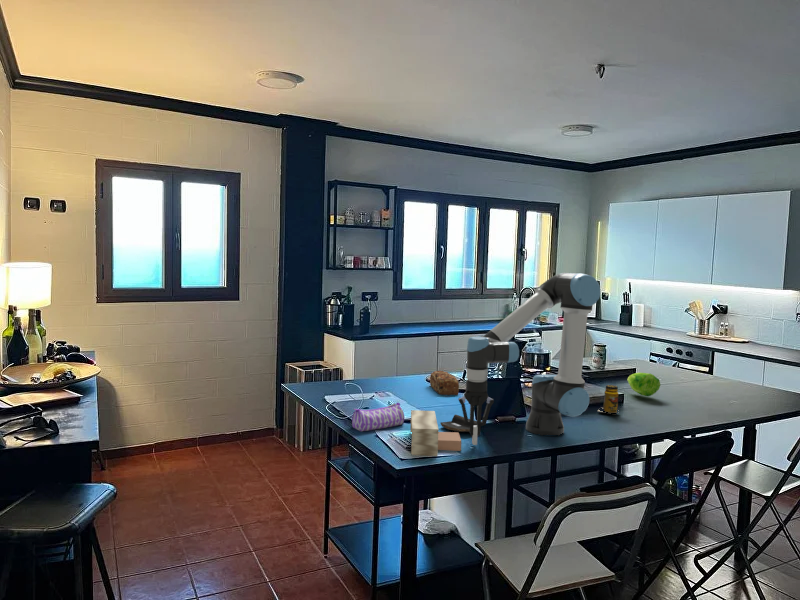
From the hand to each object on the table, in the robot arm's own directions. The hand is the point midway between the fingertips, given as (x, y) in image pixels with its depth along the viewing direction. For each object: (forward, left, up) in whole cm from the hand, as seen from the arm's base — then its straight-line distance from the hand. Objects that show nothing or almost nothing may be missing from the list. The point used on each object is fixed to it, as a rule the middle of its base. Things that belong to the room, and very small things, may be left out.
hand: (474, 443), depth 217 cm
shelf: (+20, 0, -1) cm, 20 cm away
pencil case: (+36, -18, -1) cm, 40 cm away
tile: (+12, 0, -2) cm, 13 cm away
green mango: (-99, -96, -1) cm, 138 cm away
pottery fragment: (+5, -18, -2) cm, 18 cm away
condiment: (-69, -58, -1) cm, 90 cm away
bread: (+5, -84, -1) cm, 85 cm away
